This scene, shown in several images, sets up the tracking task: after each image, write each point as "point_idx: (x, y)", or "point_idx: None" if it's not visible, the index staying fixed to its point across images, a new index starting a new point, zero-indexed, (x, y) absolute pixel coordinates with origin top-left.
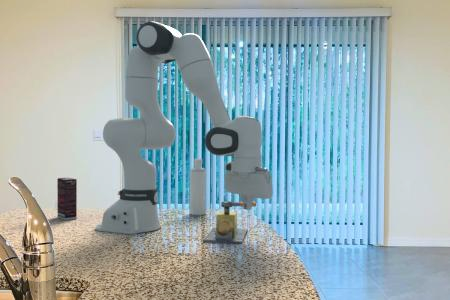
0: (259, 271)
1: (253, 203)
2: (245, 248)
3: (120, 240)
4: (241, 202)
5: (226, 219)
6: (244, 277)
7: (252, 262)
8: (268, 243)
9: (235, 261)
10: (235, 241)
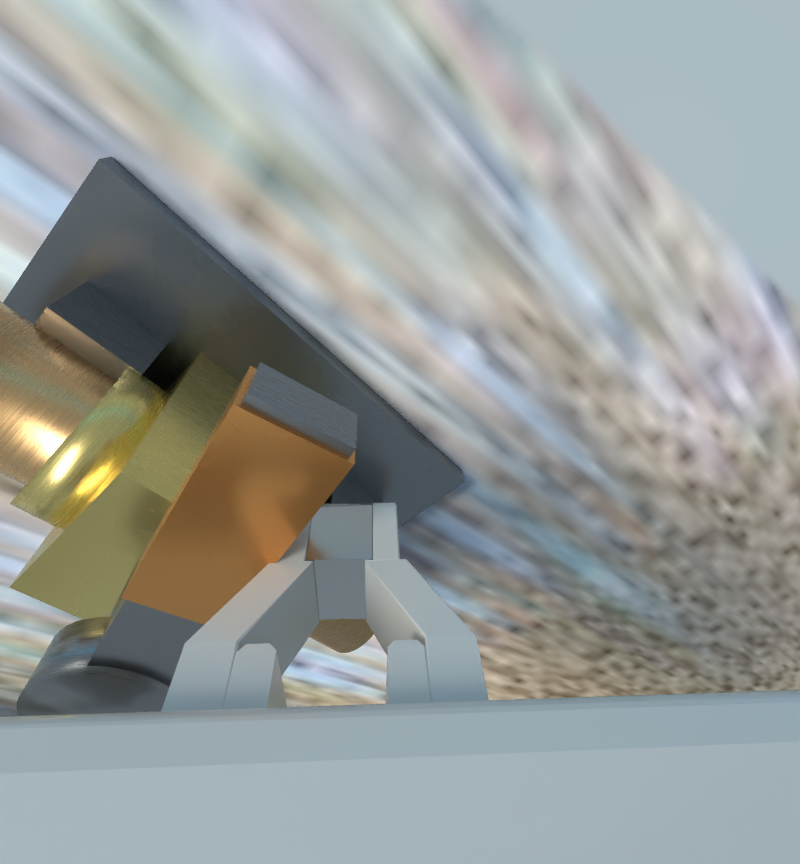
0: (783, 616)
1: (333, 484)
2: (539, 499)
3: None
4: (190, 603)
5: None
6: (758, 665)
7: (705, 585)
8: (583, 314)
9: (634, 619)
10: (430, 504)
